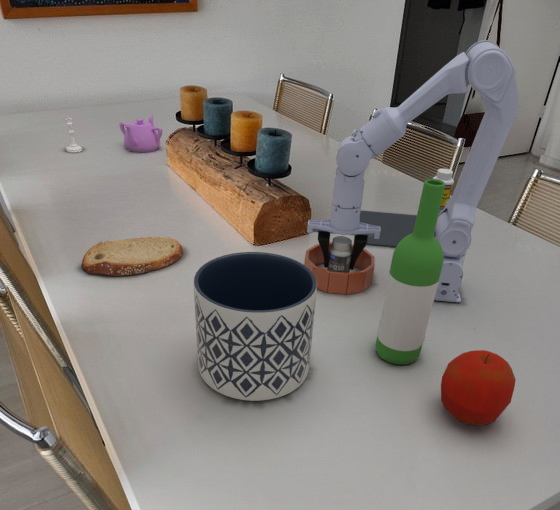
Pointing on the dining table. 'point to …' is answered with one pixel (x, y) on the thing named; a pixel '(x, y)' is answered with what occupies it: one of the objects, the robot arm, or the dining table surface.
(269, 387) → the planter
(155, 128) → the teapot
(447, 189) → the supplement bottle
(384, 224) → the mat
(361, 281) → the bracelet
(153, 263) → the slice of bread
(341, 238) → the pill bottle
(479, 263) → the dining table surface
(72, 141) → the chess piece
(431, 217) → the wine bottle
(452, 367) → the apple
